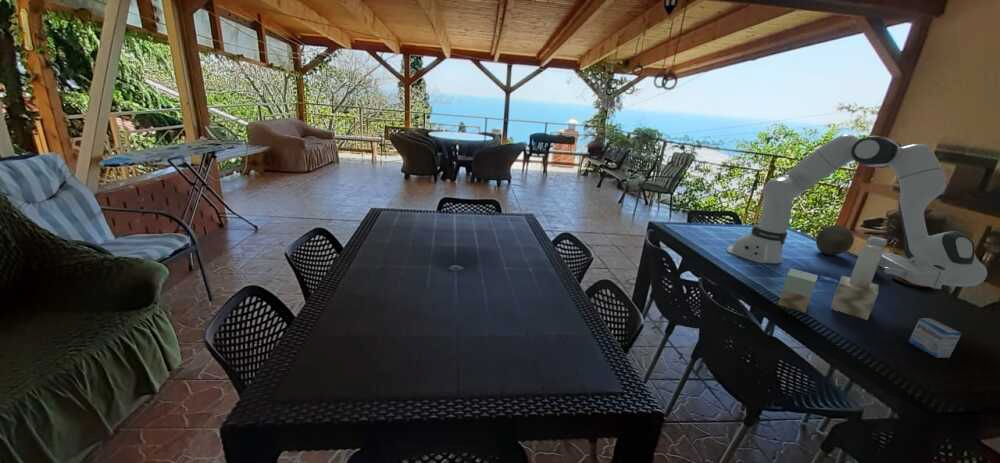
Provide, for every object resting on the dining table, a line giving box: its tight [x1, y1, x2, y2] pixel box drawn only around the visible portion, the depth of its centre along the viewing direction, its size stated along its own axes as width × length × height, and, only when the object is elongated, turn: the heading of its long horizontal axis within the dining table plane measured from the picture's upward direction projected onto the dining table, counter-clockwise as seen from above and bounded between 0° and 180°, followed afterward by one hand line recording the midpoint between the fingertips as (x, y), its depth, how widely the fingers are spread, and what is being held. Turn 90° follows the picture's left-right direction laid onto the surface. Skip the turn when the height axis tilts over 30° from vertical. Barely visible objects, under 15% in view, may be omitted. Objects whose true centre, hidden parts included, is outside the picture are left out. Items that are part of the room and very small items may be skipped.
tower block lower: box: [778, 290, 814, 314], centre depth 139 cm, size 8×8×6 cm
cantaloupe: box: [815, 224, 855, 256], centre depth 189 cm, size 14×14×15 cm
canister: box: [849, 243, 885, 288], centre depth 133 cm, size 5×5×14 cm
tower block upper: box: [782, 267, 819, 298], centre depth 137 cm, size 8×8×6 cm
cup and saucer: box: [891, 274, 929, 288], centre depth 163 cm, size 12×12×6 cm
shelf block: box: [829, 275, 879, 321], centre depth 137 cm, size 10×10×10 cm
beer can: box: [866, 235, 888, 268], centre depth 173 cm, size 6×6×15 cm
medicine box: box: [908, 317, 963, 359], centre depth 115 cm, size 8×4×9 cm, turn 5°
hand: (875, 264), depth 133 cm, fingers open, 8 cm apart
